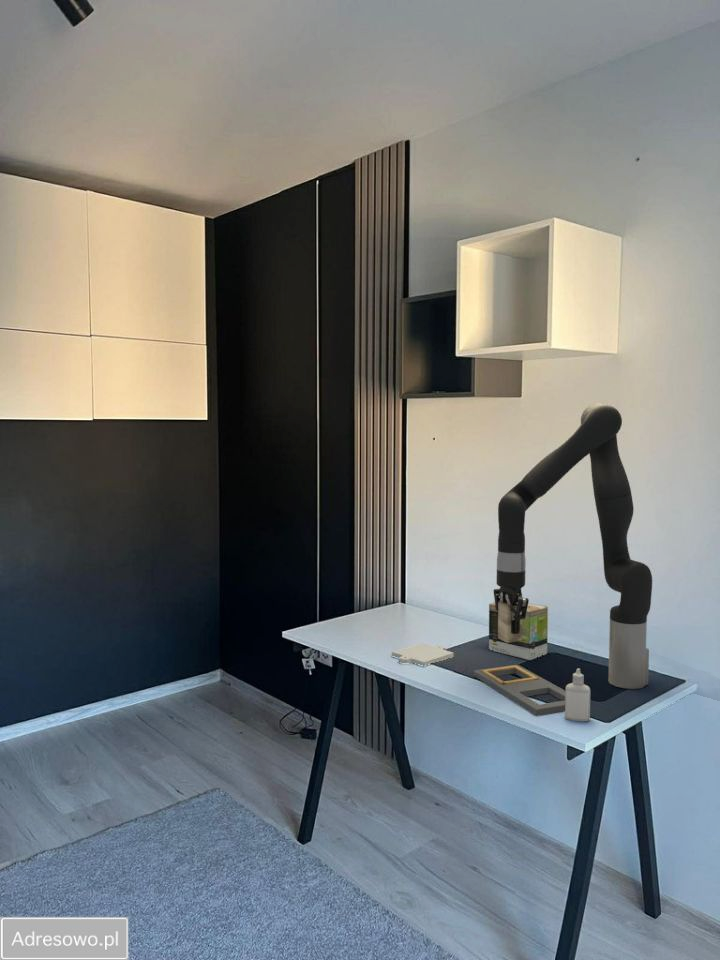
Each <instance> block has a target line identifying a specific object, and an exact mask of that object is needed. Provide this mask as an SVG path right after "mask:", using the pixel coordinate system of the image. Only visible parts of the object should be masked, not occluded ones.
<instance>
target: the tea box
mask: <svg viewBox="0 0 720 960" xmlns="http://www.w3.org/2000/svg"><path fill="white" fill-rule="evenodd" d="M548 607H549V606H547V605H541V604H536V603H530V602H528V607H527V612H526V617H525V619H522V641H516V642H508V643H507V642H505V641H503V640H501V639H499V638H498V611H496V606H495V601H494V602H491V603H489V604H488V650H489V649H490V650H489V651H492V650H493V651H492V652H496V653H500V654H505V655H508V656H512V657H516V658H519V659H524V660H527V661H532V660H534V659H537V657H538V658H540V657H542V655H543V656H546V655H548V654H547V653H548V633H549V631H548V628H549V627H548V625H549V623H548V620H549V618H548V617H549V612H548V610H549V609H548Z"/></svg>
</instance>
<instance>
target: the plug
mask: <svg viewBox="0 0 720 960" xmlns="http://www.w3.org/2000/svg"><path fill="white" fill-rule="evenodd" d="M512 608H517V606H512ZM514 613H515V614H516V611H514ZM521 614H522V612H521ZM511 620H512V619H511V611H510V605H508V604H507V603H506V602H501V601H499V602H498V638H499V639H501V640H503V641H505V642H507V643H508V642H516V641H522V619H521V620H520V631H519V633H518V634H512V633H511Z"/></svg>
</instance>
